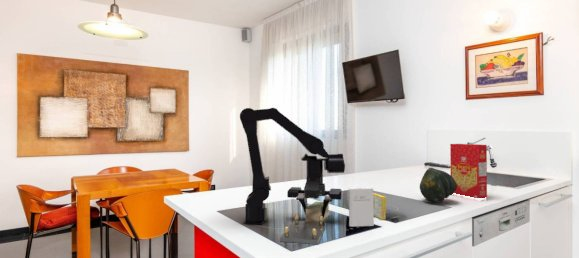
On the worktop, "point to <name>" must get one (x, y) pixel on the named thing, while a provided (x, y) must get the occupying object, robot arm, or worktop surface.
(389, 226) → the worktop surface
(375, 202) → the candy box
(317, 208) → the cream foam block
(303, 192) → the robot arm
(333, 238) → the worktop surface
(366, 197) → the external hard drive
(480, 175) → the food packaging
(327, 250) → the worktop surface
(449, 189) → the squash
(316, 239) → the plate
